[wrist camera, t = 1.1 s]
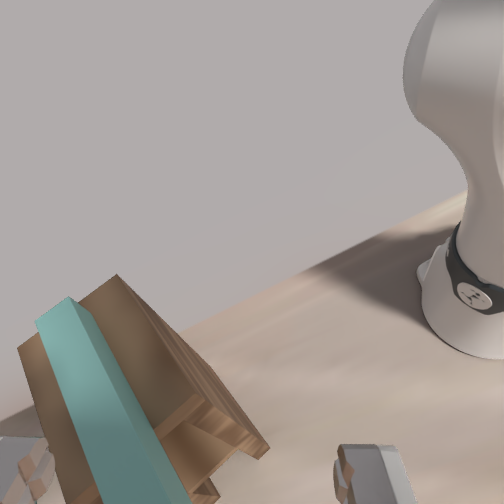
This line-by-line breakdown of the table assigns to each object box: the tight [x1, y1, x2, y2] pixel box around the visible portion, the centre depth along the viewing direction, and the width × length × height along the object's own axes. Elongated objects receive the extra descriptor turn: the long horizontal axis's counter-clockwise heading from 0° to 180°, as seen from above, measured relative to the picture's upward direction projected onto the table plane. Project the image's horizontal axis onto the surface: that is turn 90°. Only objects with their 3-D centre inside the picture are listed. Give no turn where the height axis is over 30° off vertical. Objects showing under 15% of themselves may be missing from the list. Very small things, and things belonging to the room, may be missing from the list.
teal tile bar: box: [35, 297, 192, 504], centre depth 23 cm, size 3×21×3 cm, turn 39°
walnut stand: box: [17, 274, 270, 504], centre depth 37 cm, size 10×14×26 cm
